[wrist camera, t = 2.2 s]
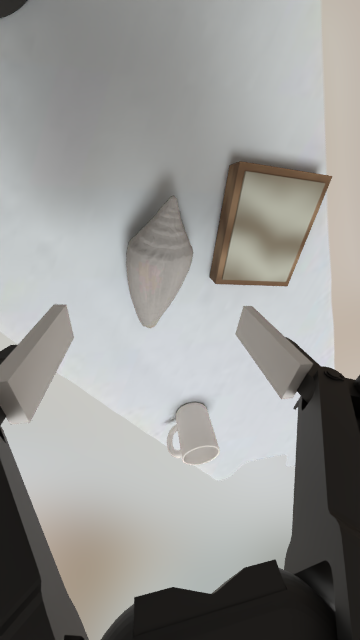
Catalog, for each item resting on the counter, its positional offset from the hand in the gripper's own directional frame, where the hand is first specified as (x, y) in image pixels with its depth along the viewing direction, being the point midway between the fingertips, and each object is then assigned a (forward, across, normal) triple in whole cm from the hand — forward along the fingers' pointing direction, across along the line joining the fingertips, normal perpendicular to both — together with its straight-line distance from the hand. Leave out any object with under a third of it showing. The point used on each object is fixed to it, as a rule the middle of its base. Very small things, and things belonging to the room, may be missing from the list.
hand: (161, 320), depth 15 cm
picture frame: (+16, +15, +6) cm, 22 cm away
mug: (+16, +9, -38) cm, 43 cm away
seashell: (+16, 0, -1) cm, 16 cm away
